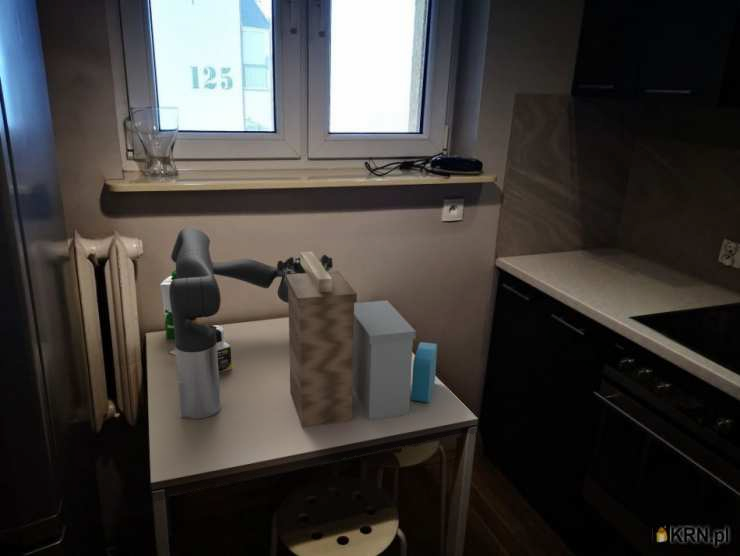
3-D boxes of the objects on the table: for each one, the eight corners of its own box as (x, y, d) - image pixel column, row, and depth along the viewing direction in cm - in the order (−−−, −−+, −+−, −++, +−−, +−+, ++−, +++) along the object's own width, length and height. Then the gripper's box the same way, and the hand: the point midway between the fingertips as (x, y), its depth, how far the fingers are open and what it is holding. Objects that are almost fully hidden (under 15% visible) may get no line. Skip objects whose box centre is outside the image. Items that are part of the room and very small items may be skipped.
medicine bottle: (207, 376, 151) (205, 335, 147) (197, 366, 156) (193, 326, 153) (232, 368, 156) (230, 329, 152) (220, 359, 161) (218, 320, 157)
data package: (418, 380, 152) (420, 339, 149) (434, 382, 151) (437, 342, 148) (410, 402, 141) (413, 359, 138) (428, 405, 140) (431, 362, 137)
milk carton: (200, 329, 180) (195, 270, 174) (190, 341, 172) (185, 279, 165) (173, 328, 180) (167, 269, 174) (162, 340, 172) (155, 278, 166)
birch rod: (318, 292, 123) (318, 279, 122) (300, 263, 143) (300, 252, 142) (331, 291, 124) (332, 278, 123) (311, 262, 143) (311, 251, 143)
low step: (367, 420, 133) (370, 335, 126) (345, 379, 151) (346, 303, 144) (410, 414, 136) (415, 331, 129) (384, 375, 155) (387, 300, 148)
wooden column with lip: (299, 428, 129) (297, 298, 119) (288, 392, 144) (285, 274, 134) (354, 420, 133) (356, 293, 123) (337, 386, 148) (338, 271, 138)
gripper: (325, 285, 158) (338, 272, 143) (275, 288, 154) (282, 276, 139) (322, 259, 159) (334, 243, 144) (272, 262, 155) (279, 246, 140)
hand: (308, 259), depth 142 cm, fingers open, 8 cm apart
